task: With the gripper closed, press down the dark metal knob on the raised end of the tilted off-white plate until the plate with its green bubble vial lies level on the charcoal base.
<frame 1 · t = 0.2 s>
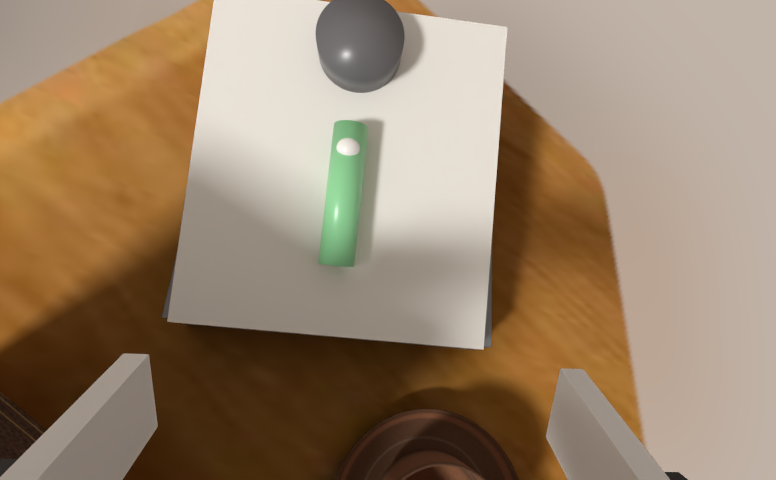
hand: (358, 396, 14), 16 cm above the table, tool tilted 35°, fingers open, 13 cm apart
level plate: (347, 163, 25), point 8 cm above the table, hinge at 12.0°
level base: (348, 204, 33), on the table
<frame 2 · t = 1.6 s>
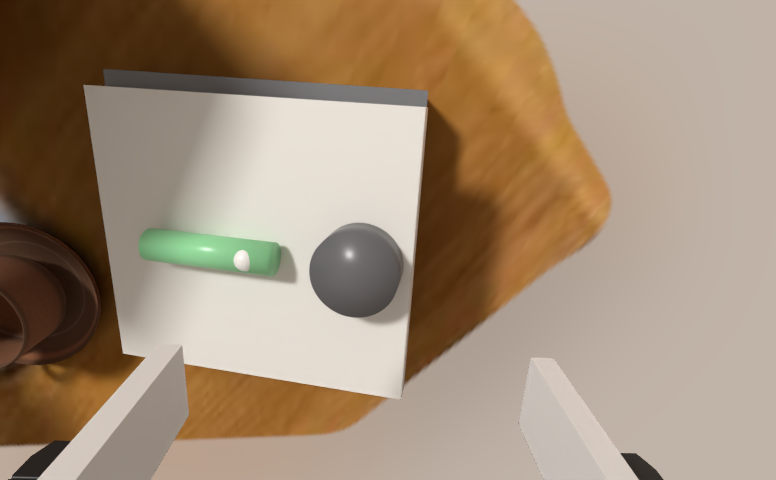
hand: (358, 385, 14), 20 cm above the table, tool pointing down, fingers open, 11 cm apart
cup and saucer: (37, 286, 35), on the table
level plate: (247, 251, 26), point 8 cm above the table, hinge at 12.0°
level base: (283, 218, 33), on the table
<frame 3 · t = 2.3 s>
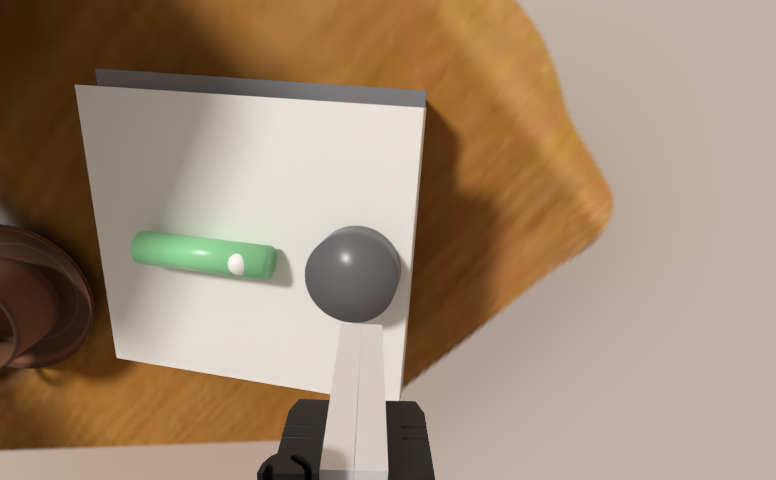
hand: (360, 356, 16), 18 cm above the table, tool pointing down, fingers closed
cup and saucer: (30, 289, 34), on the table
level plate: (242, 255, 25), point 8 cm above the table, hinge at 12.0°
level base: (280, 220, 33), on the table
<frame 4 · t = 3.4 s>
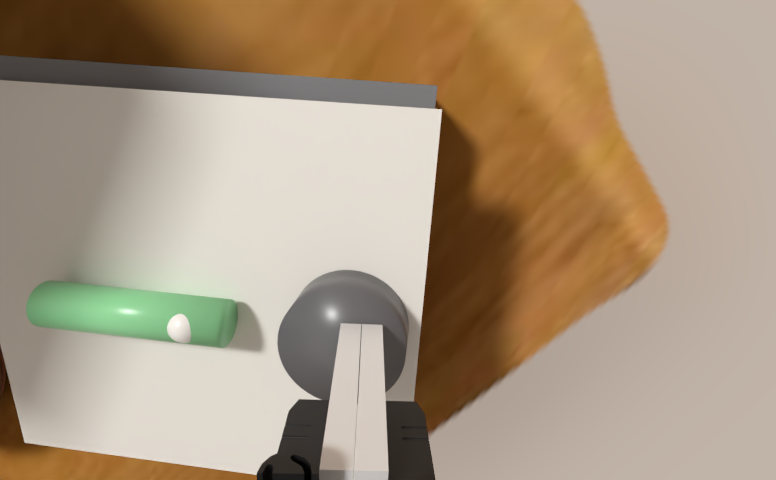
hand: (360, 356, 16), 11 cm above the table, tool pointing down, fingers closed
level plate: (189, 311, 18), point 7 cm above the table, hinge at 8.8°, touching gripper
level base: (245, 253, 25), on the table
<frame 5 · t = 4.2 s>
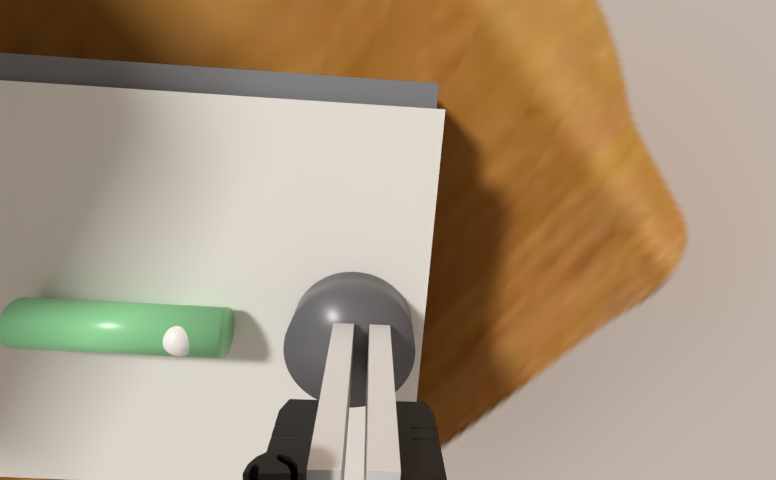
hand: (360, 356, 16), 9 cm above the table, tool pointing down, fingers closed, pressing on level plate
level plate: (182, 322, 17), point 6 cm above the table, hinge at 2.5°, touching gripper
level base: (230, 265, 24), on the table
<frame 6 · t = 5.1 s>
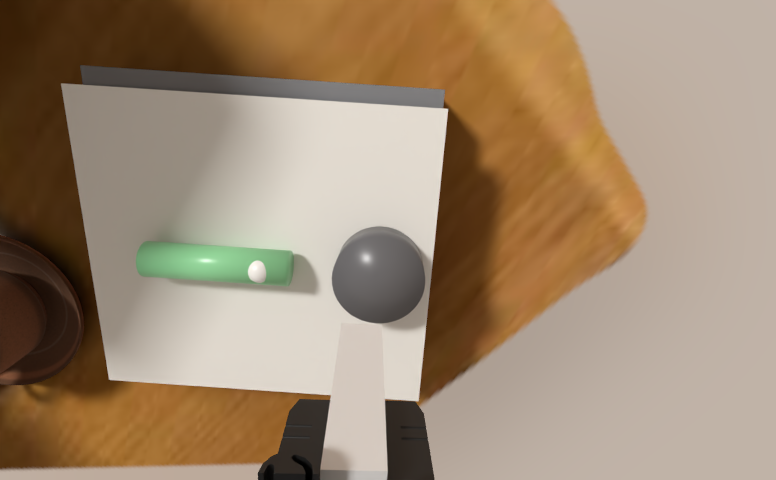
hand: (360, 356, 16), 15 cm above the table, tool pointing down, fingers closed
cup and saucer: (17, 300, 32), on the table
level plate: (257, 261, 24), point 6 cm above the table, hinge at 2.4°
level base: (283, 230, 30), on the table
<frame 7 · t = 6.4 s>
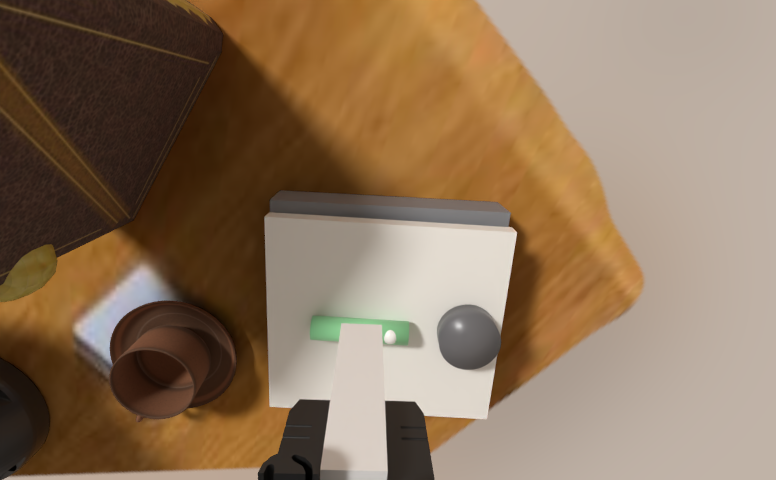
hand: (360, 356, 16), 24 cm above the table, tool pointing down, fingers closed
cup and saucer: (182, 345, 43), on the table
level plate: (384, 328, 36), point 6 cm above the table, hinge at 2.4°
level base: (383, 295, 42), on the table
book: (138, 125, 36), on the table
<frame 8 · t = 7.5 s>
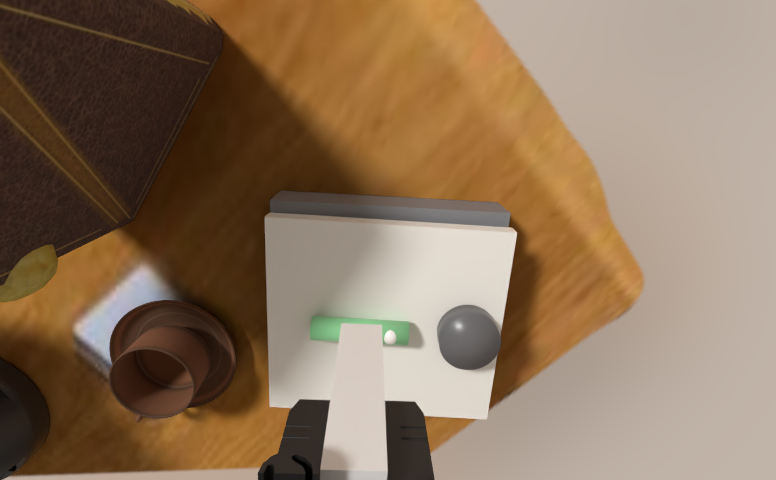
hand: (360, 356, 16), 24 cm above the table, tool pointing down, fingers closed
cup and saucer: (182, 345, 43), on the table
level plate: (384, 328, 36), point 6 cm above the table, hinge at 2.4°
level base: (383, 295, 42), on the table
book: (139, 125, 37), on the table
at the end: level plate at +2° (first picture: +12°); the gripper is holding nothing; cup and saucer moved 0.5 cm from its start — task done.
